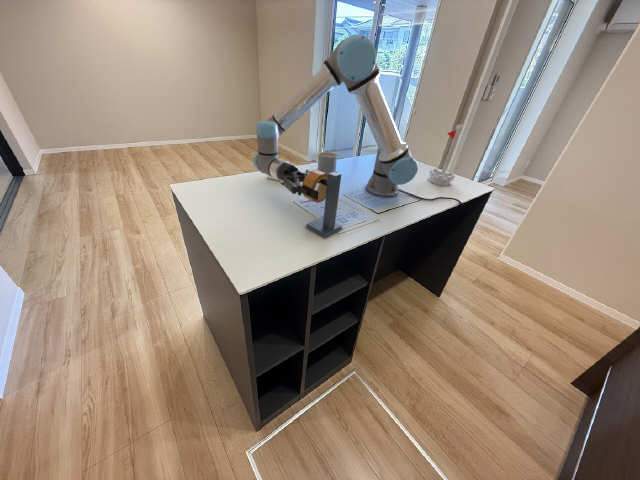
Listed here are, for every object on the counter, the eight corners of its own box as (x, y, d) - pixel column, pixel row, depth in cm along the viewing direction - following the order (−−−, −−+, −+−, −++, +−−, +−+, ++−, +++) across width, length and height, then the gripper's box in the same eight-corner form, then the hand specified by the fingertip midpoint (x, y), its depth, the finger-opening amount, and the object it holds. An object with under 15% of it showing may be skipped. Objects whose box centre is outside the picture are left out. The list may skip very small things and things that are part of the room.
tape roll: (320, 194, 92) (323, 167, 87) (330, 198, 90) (333, 171, 84) (301, 201, 86) (302, 173, 80) (310, 206, 83) (312, 177, 78)
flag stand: (456, 183, 141) (479, 126, 124) (443, 188, 134) (466, 128, 117) (435, 176, 149) (454, 121, 132) (422, 179, 142) (441, 122, 125)
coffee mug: (326, 176, 133) (328, 158, 128) (313, 171, 139) (315, 153, 133) (342, 172, 142) (345, 154, 136) (330, 167, 147) (332, 149, 141)
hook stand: (324, 238, 85) (331, 179, 73) (299, 222, 92) (301, 167, 80) (341, 229, 91) (349, 173, 79) (315, 215, 98) (320, 162, 86)
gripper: (305, 175, 103) (347, 193, 92) (260, 188, 89) (303, 212, 77) (306, 157, 99) (350, 173, 87) (258, 167, 85) (304, 189, 73)
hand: (328, 191), depth 82 cm, fingers closed on tape roll, 10 cm apart
